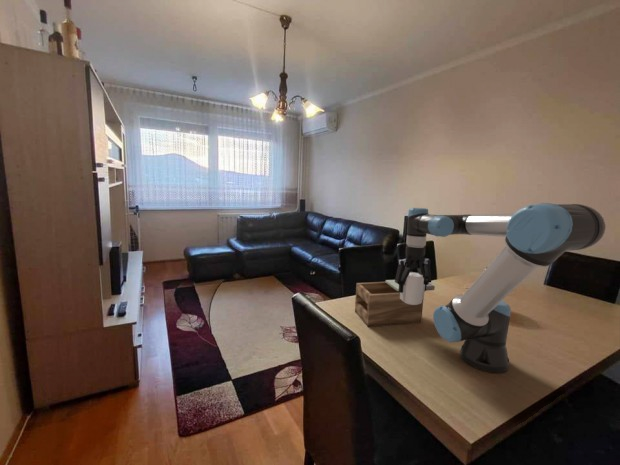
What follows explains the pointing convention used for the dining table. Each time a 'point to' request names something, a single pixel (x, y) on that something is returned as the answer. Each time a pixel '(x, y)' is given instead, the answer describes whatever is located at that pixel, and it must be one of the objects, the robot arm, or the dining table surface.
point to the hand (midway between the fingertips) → (411, 299)
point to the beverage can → (414, 288)
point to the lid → (396, 286)
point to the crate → (384, 305)
